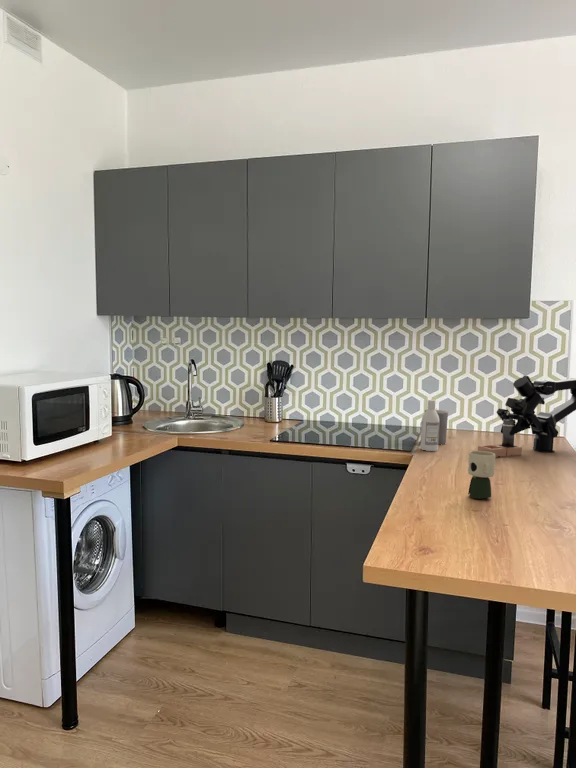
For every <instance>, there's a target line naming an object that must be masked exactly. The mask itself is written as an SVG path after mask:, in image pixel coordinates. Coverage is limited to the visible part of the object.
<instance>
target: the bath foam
mask: <svg viewBox="0 0 576 768" xmlns="http://www.w3.org/2000/svg"><path fill="white" fill-rule="evenodd" d="M425 410H426V412H425V411H424V413H423V415H422V417H421V421H420V422H421V423H420V424H421V425H420V447H419V448H420V450H421V449H422V450H421V451H423V450H426V451H425V452H437V451H439V445H438V442H439V423H440V422H439V416H438V414H437V412H436V400H435V399H428V400H427V409H425Z"/></svg>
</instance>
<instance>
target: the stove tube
mask: <svg viewBox="0 0 576 768" xmlns="http://www.w3.org/2000/svg"><path fill="white" fill-rule="evenodd" d="M502 425H503V433H502V437H501V438H502V439H501V444H502V446H503V447H507V448H511V447H514V445H515V434H514V435H510V432H511V430H512V429H513V427H514V426H515V425H516V420H514V419H503V421H502Z"/></svg>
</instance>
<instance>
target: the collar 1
mask: <svg viewBox="0 0 576 768" xmlns="http://www.w3.org/2000/svg"><path fill="white" fill-rule="evenodd" d="M506 449H507V448H503V447H499V446H496V444H484V445H478V446H477V451H487V452H492V453H494V454H495V458H498V456H500V457H507V456H506Z"/></svg>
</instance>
